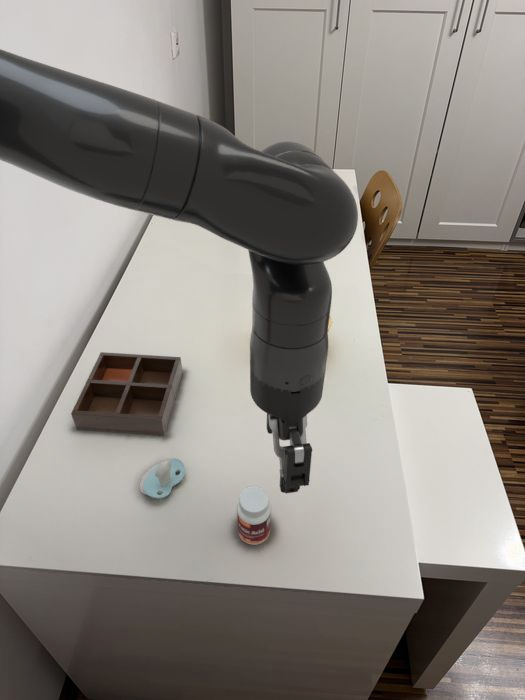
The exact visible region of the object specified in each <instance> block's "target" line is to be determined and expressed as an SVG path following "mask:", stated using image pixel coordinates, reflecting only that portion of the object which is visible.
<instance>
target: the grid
mask: <svg viewBox="0 0 525 700" xmlns="http://www.w3.org/2000/svg"><path fill="white" fill-rule="evenodd" d="M183 373H184V372H183V365H182V358H181V356H170V355H169V356H168V355H167V356H166V355H155V354H154V355H151V354H138V353H137V354H136V353H122V352H121V353H119V352H103V351H101V352H100V353H99V355H98V357H97V359H96V361H95V363H94V365H93V367H92V369H91V371H90V373H89V376H88V378H87V380H86V382H85V384H84V386H83V387H82V390H81V392H80V394H79V396H78V398H77V400H76V402H75V404H74V406H73V409H72V410H71V412H70V415H71V418H72V420H73V423H74V426H75V428H76V430H84V431H95V432H111V433H123V434H137V435H152V436H165V435H166V432H167V429H168V426H169V423H170V422H169V421H170V418H171V414H172V411H173V407H174V404H175V401H176V397H177V394H178V390H179V387H180V385H181V380H182V377H183Z"/></svg>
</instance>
